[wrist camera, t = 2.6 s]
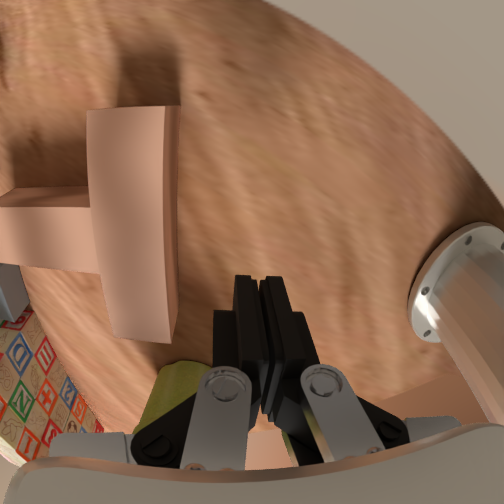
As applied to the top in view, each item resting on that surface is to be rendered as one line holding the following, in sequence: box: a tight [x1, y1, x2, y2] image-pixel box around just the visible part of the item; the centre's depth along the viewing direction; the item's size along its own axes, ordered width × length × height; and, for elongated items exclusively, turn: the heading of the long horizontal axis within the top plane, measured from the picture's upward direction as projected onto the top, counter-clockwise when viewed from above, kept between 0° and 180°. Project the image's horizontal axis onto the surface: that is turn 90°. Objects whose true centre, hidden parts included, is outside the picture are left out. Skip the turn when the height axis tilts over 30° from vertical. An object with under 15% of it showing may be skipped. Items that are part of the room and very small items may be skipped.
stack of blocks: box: [0, 310, 104, 467], centre depth 21 cm, size 21×6×12 cm, turn 0°
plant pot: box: [132, 361, 212, 434], centre depth 22 cm, size 9×9×9 cm
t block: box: [0, 105, 181, 344], centre depth 16 cm, size 13×14×4 cm
